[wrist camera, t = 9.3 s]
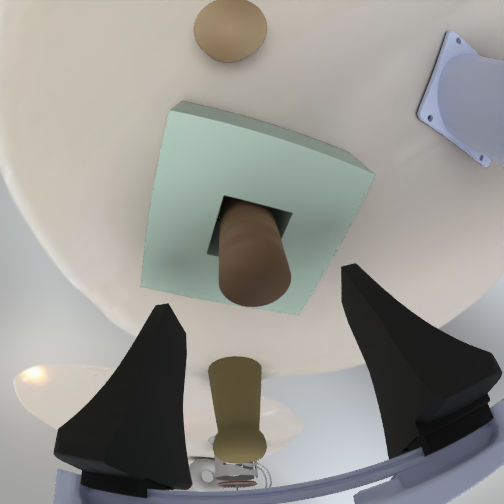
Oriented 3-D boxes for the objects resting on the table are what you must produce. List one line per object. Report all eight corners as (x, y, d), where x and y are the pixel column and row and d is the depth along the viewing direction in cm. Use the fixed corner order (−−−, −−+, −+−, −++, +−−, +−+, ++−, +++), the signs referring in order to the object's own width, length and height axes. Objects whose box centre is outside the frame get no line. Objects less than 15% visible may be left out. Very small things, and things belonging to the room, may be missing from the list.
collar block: (349, 152, 18) (375, 174, 15) (289, 278, 24) (298, 315, 20) (182, 101, 15) (169, 110, 12) (151, 250, 21) (140, 286, 18)
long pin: (275, 186, 19) (302, 260, 12) (259, 227, 21) (275, 311, 14) (227, 173, 18) (229, 244, 12) (215, 216, 20) (211, 300, 13)
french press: (219, 430, 43) (227, 560, 23) (277, 435, 47) (293, 551, 27) (201, 444, 48) (206, 554, 28) (253, 448, 52) (264, 550, 32)
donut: (184, 457, 55) (184, 493, 47) (189, 454, 54) (189, 492, 45) (223, 461, 59) (225, 496, 51) (228, 458, 57) (231, 494, 49)
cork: (219, 386, 33) (222, 469, 24) (199, 362, 30) (198, 457, 21) (266, 377, 33) (278, 462, 24) (253, 351, 29) (264, 451, 20)
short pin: (265, 22, 13) (276, 9, 9) (247, 68, 14) (253, 68, 11) (211, 7, 12) (207, -9, 9) (194, 55, 14) (184, 51, 10)
